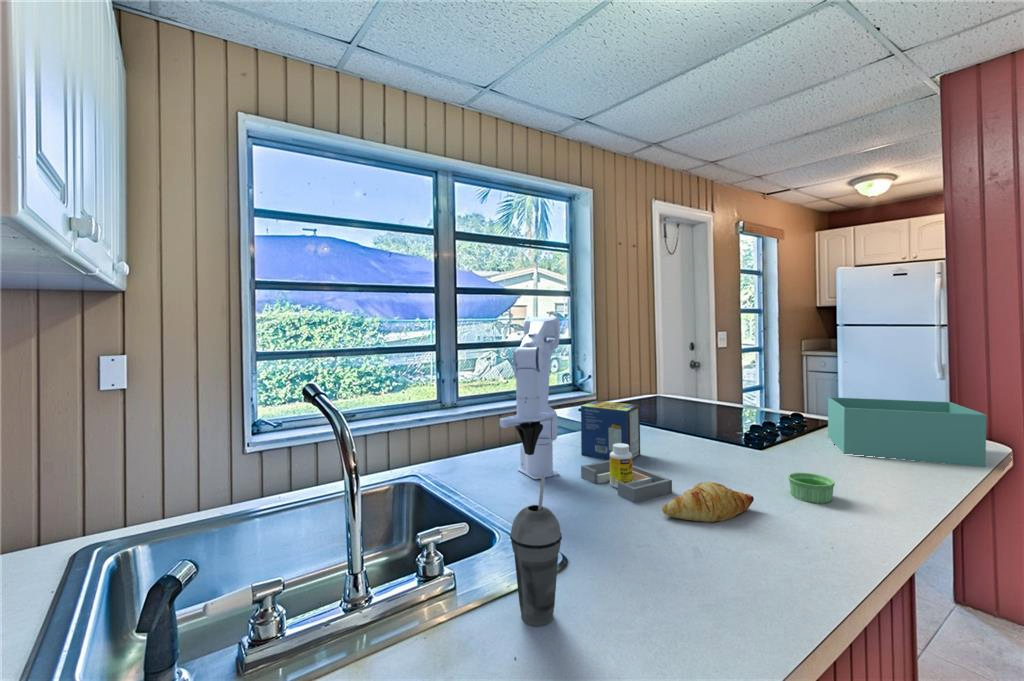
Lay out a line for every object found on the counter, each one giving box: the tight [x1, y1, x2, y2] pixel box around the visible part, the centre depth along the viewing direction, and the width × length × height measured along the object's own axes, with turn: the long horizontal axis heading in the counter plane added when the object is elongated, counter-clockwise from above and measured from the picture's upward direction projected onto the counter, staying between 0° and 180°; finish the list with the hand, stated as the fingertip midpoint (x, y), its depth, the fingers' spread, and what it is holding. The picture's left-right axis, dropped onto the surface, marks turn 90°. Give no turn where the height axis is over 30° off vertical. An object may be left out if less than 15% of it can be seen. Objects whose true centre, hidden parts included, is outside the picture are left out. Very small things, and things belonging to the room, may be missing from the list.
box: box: [827, 396, 988, 468], centre depth 140 cm, size 21×32×14 cm, turn 66°
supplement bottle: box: [609, 443, 633, 489], centre depth 115 cm, size 6×6×10 cm
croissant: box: [661, 481, 755, 523], centre depth 98 cm, size 21×10×8 cm
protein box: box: [580, 400, 641, 460], centre depth 142 cm, size 10×15×16 cm
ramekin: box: [788, 472, 836, 504], centre depth 106 cm, size 9×9×4 cm
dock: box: [580, 459, 673, 503], centre depth 116 cm, size 20×12×3 cm, turn 28°
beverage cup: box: [509, 475, 563, 628], centre depth 64 cm, size 7×7×20 cm
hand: (529, 453), depth 110 cm, fingers closed
